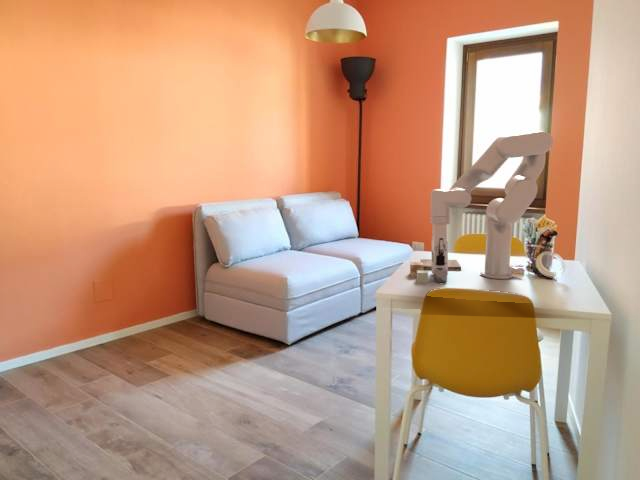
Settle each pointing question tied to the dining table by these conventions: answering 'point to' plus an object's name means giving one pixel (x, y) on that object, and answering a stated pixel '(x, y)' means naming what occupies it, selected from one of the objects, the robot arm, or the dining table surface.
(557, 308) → the dining table surface
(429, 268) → the walnut board
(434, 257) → the syrup box
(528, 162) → the robot arm
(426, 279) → the sage cube
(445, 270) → the grey tin
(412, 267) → the oak block
